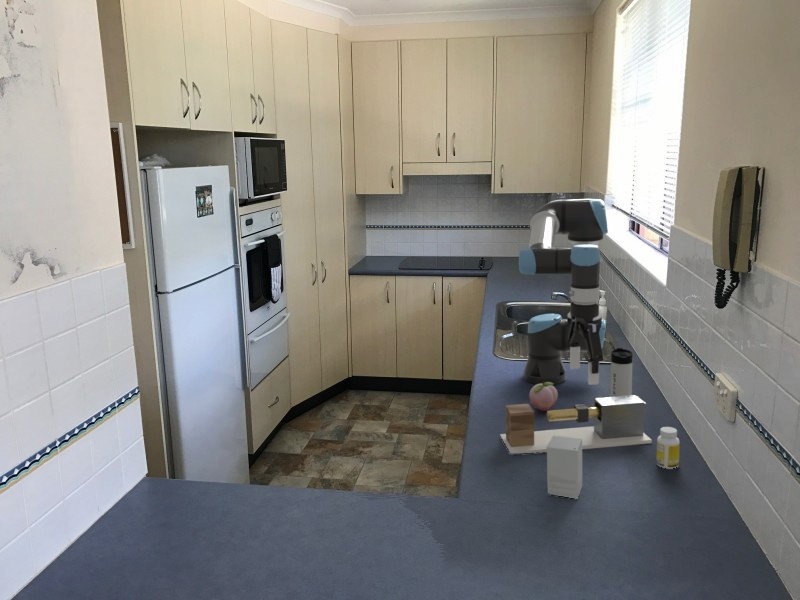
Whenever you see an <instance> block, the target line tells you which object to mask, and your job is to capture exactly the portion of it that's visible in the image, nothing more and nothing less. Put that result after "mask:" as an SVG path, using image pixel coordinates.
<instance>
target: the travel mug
mask: <svg viewBox="0 0 800 600" xmlns="http://www.w3.org/2000/svg"><path fill="white" fill-rule="evenodd" d="M610 353H611V354H610V355H611V357H610V358H611V359H610V391H609V393H610V395H609V397H615V396H628V395H633V394H632V392H633V388H632V387H633V352H632V351H631V350H628V349H625V348H623V347H616V349H613V350H611V351H610Z"/></svg>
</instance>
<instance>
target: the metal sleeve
mask: <svg viewBox="0 0 800 600" xmlns="http://www.w3.org/2000/svg"><path fill="white" fill-rule="evenodd" d="M593 399H594V403H593V405H594V406H593V407H599V406H600V407H601V417H597V418H593V426H594V431H595V432H596V433H597V434H598V435H599V437H600V438H601V439H611V438H623V437H634V436H643V433H644V426H645V425H644V423H645V422H646V419H647V403H646V402H645V401H644V400H642V399H641V398H640V397H639V396H638V395H636V394H632V395H628V396H615V397H610V396H607V397H605V396H604V397H594V398H593Z"/></svg>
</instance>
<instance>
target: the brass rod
mask: <svg viewBox="0 0 800 600" xmlns="http://www.w3.org/2000/svg"><path fill="white" fill-rule="evenodd" d="M597 417H601V407H600V406H599V407H594V406H591V407H588V406H587V405H586V404H585V403H583V404H582V403H581V404H580V403H579V404H573V408H565V409H553V410H552V409H551V410H546V419H547V421H548V422H559V421H560V422H561V421H570V420H572V421H573V420H575V421H576V423H578V424H579V423H589V422H590V421H589V419H594V418H597Z"/></svg>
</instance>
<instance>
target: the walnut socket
mask: <svg viewBox="0 0 800 600" xmlns="http://www.w3.org/2000/svg"><path fill="white" fill-rule="evenodd" d="M534 431H535V410H534V409H533V408H532V407H531V406H530V405H529V403H519V404H509V405H508V404H507V405H505V434H506V439H507V441H508V442H509V444H510V446H511V447H519V446H530V445H534Z"/></svg>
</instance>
